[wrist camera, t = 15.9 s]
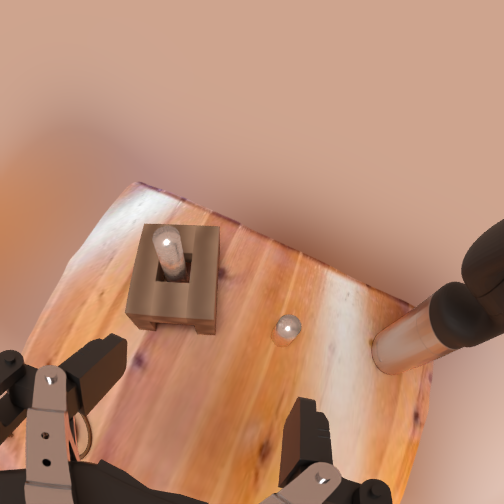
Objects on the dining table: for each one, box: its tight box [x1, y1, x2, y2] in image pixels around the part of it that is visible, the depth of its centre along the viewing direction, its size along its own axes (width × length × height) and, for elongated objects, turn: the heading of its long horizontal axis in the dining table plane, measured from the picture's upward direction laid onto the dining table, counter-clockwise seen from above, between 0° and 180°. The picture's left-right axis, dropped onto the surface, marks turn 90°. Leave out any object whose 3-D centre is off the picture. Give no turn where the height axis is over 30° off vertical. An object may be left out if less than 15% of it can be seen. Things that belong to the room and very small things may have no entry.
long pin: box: [152, 226, 189, 283], centre depth 42 cm, size 4×4×16 cm
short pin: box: [271, 315, 301, 347], centre depth 43 cm, size 4×4×6 cm
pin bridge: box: [125, 224, 220, 335], centre depth 45 cm, size 13×16×8 cm
